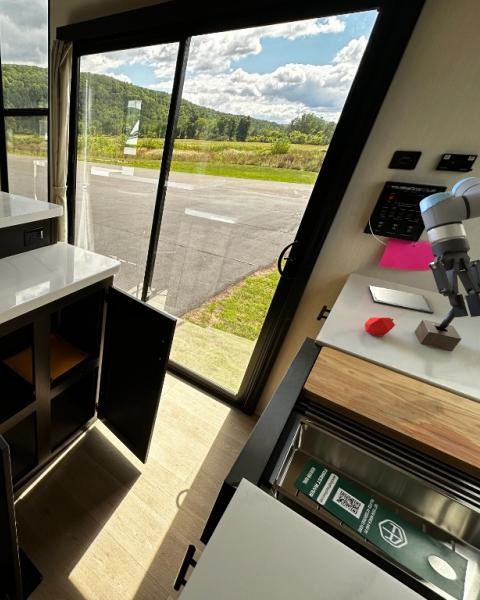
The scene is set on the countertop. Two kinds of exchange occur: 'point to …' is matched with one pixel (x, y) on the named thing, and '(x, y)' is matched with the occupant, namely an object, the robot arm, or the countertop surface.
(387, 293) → the tablet
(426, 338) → the block
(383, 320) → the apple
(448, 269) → the robot arm
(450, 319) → the stylus
